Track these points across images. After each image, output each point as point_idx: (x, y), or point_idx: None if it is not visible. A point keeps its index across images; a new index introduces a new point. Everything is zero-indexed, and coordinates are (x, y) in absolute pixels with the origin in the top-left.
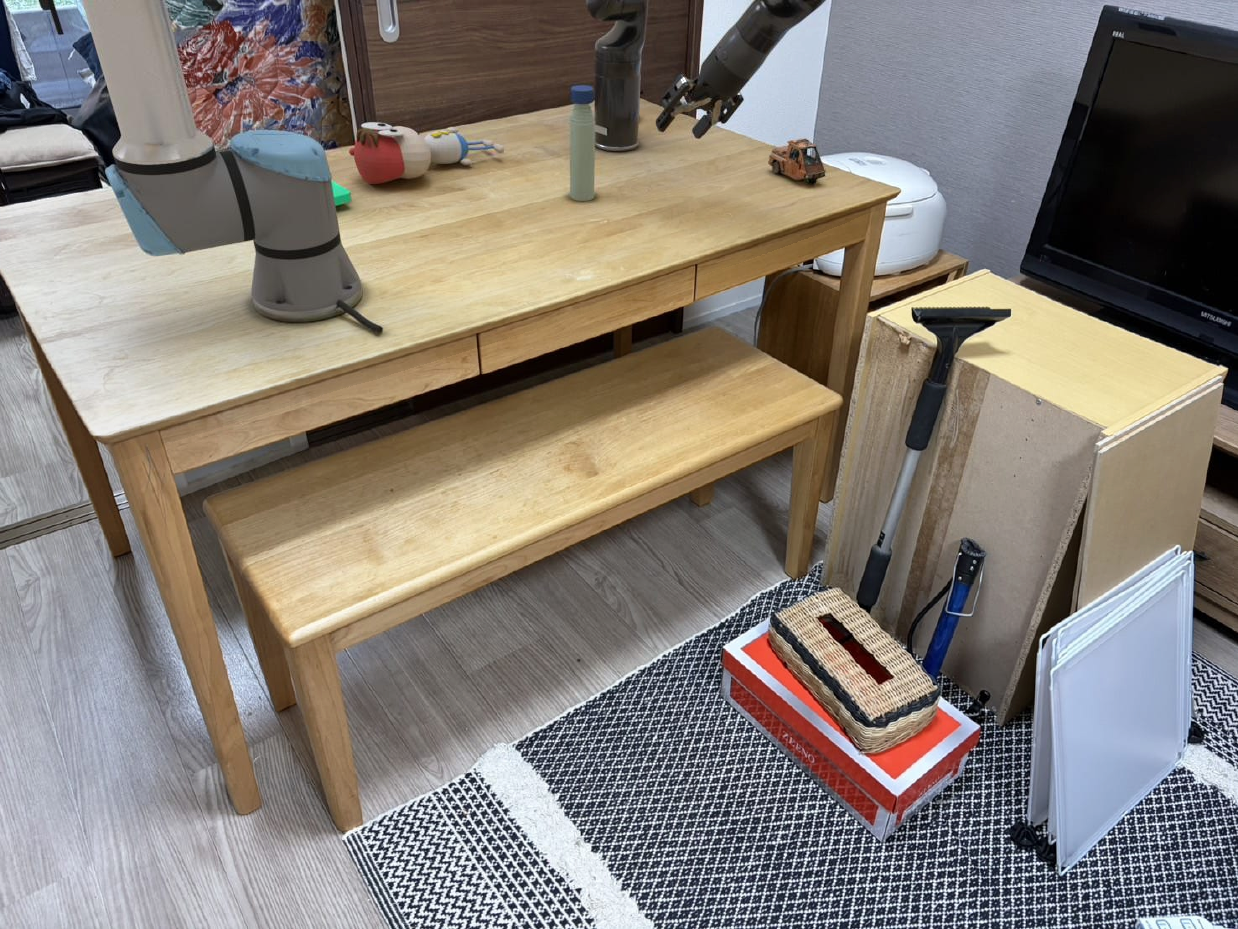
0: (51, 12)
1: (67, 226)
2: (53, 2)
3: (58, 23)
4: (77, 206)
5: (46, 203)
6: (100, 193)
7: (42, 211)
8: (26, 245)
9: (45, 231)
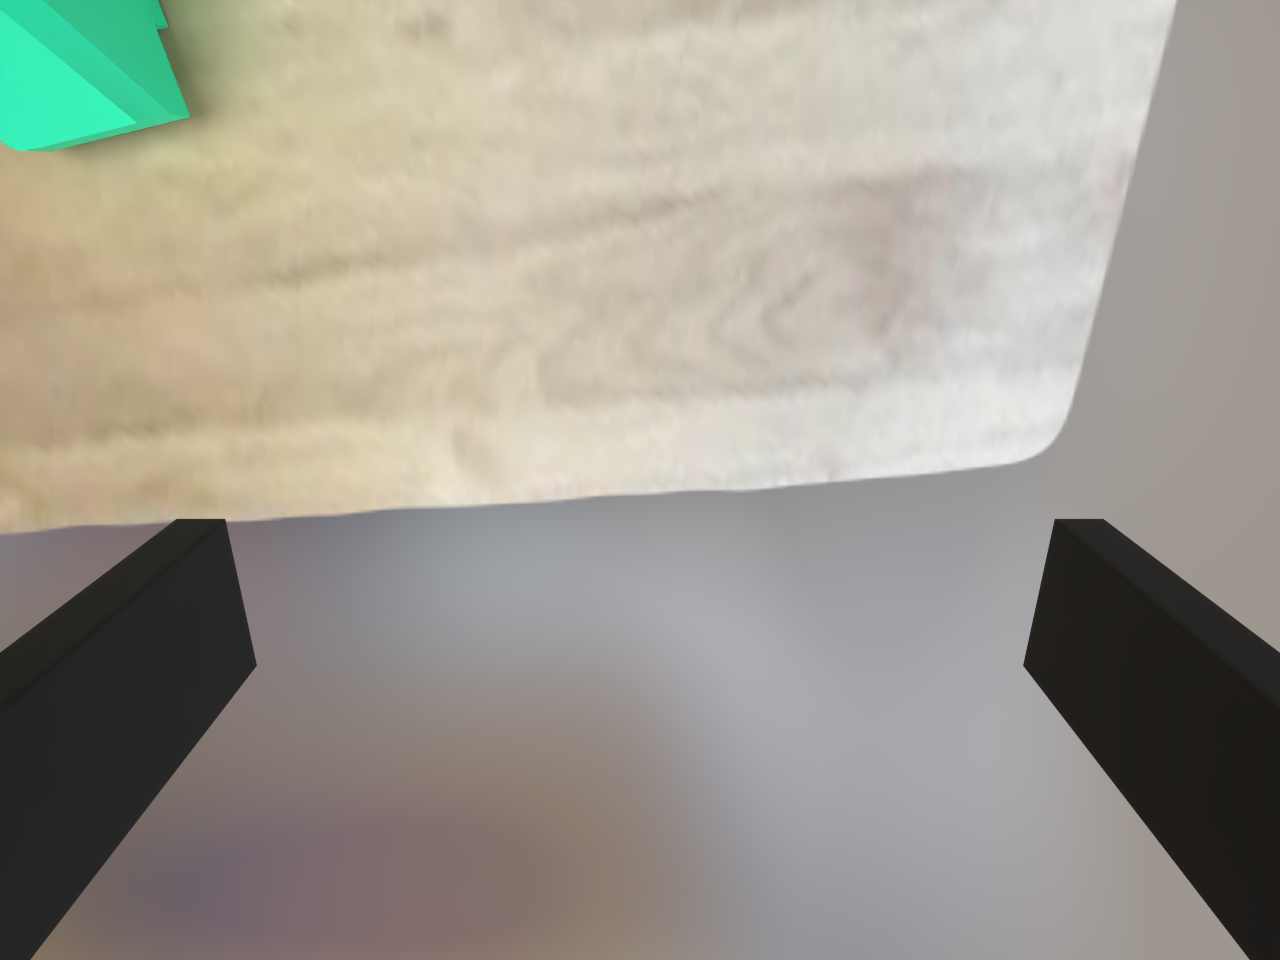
0: (1247, 631)
1: (952, 193)
2: (1274, 705)
3: (1131, 564)
4: (882, 373)
5: (959, 444)
6: (794, 461)
7: (987, 376)
8: (1112, 64)
9: (1025, 178)
